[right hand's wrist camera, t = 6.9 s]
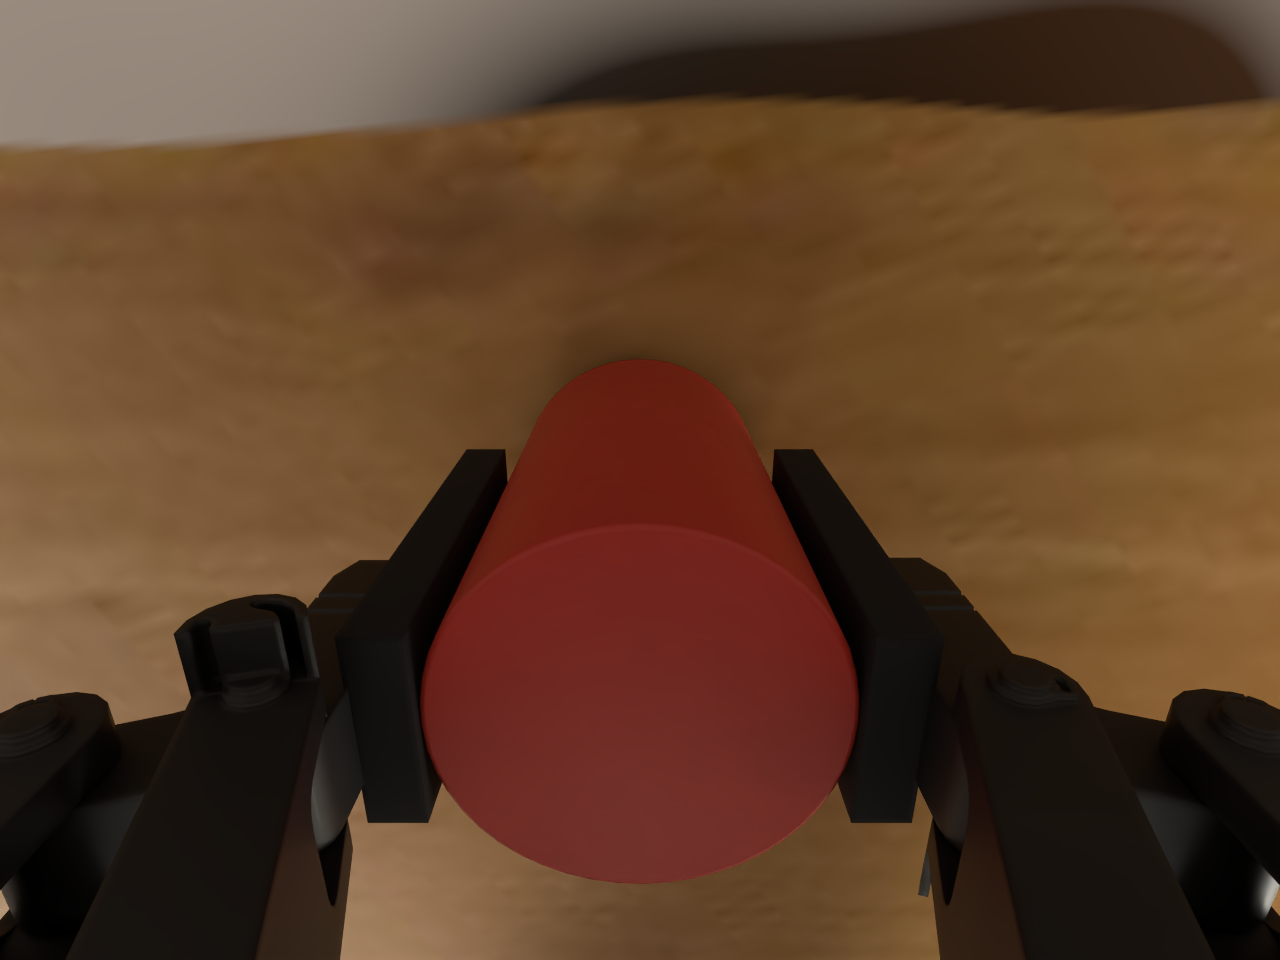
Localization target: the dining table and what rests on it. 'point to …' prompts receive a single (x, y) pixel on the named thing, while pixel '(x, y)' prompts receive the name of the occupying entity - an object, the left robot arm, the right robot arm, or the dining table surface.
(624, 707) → the can
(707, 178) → the dining table surface
